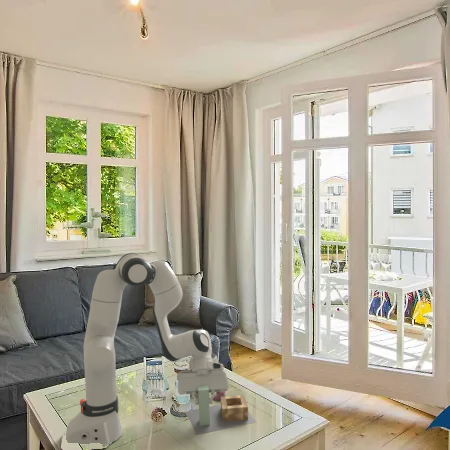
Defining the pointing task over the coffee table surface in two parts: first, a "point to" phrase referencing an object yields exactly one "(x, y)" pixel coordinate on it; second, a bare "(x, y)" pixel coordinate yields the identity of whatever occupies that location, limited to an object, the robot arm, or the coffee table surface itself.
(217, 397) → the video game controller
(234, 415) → the square hole block
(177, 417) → the coffee table surface
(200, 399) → the bracket bar
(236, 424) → the base board
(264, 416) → the coffee table surface
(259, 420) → the coffee table surface
